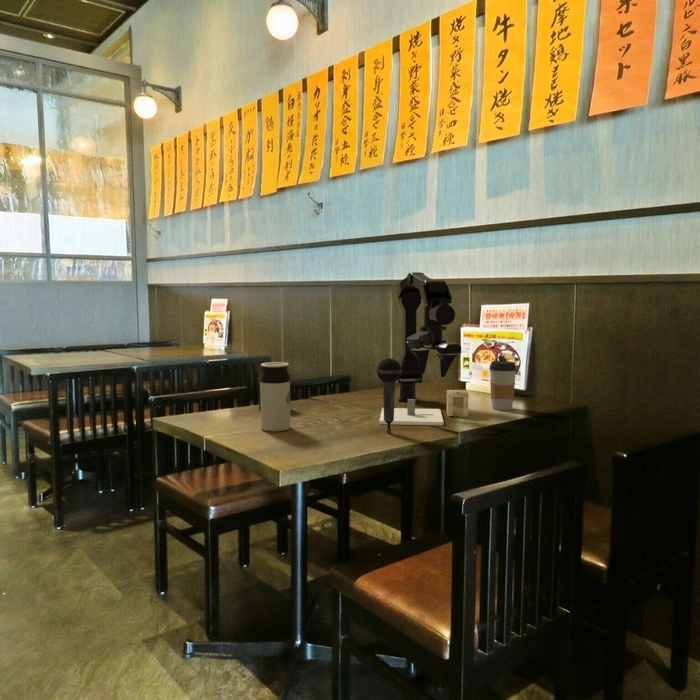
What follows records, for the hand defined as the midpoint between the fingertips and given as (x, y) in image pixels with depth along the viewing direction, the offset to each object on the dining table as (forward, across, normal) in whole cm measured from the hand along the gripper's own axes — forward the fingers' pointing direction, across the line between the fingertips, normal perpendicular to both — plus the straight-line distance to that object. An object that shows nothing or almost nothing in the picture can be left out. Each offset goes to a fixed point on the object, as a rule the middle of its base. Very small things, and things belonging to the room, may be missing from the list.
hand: (432, 375), depth 171 cm
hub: (+12, -2, -7) cm, 14 cm away
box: (+13, -36, -36) cm, 52 cm away
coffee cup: (+13, +4, +26) cm, 29 cm away
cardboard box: (+12, +2, +8) cm, 15 cm away
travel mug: (+13, -11, -46) cm, 49 cm away
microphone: (+13, +10, -23) cm, 28 cm away
